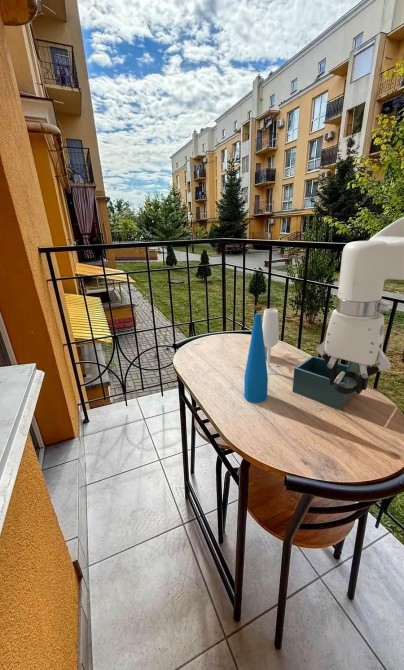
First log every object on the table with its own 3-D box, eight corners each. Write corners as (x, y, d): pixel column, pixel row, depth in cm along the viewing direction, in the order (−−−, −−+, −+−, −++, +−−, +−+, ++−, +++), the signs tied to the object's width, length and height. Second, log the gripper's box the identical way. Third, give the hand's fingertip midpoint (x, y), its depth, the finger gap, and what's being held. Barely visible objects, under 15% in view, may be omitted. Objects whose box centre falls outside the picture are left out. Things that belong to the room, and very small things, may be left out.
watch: (343, 377, 66) (345, 363, 64) (364, 384, 62) (367, 370, 61) (327, 390, 61) (328, 375, 60) (349, 399, 58) (351, 383, 56)
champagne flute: (277, 375, 104) (281, 313, 96) (259, 374, 105) (261, 312, 97) (276, 367, 110) (280, 308, 102) (259, 366, 112) (261, 307, 103)
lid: (357, 329, 73) (360, 330, 73) (373, 318, 81) (376, 319, 81) (343, 382, 80) (346, 383, 79) (358, 367, 88) (361, 368, 87)
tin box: (292, 391, 93) (294, 368, 90) (309, 377, 102) (312, 355, 98) (340, 410, 83) (344, 384, 80) (355, 393, 91) (360, 369, 88)
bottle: (241, 400, 90) (242, 308, 79) (247, 388, 96) (250, 302, 85) (263, 405, 87) (268, 310, 76) (269, 393, 93) (274, 304, 82)
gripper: (414, 308, 52) (396, 393, 58) (323, 297, 63) (316, 369, 70) (403, 318, 47) (385, 409, 54) (307, 305, 59) (301, 381, 65)
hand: (346, 386), depth 62 cm, fingers closed on watch, 4 cm apart
